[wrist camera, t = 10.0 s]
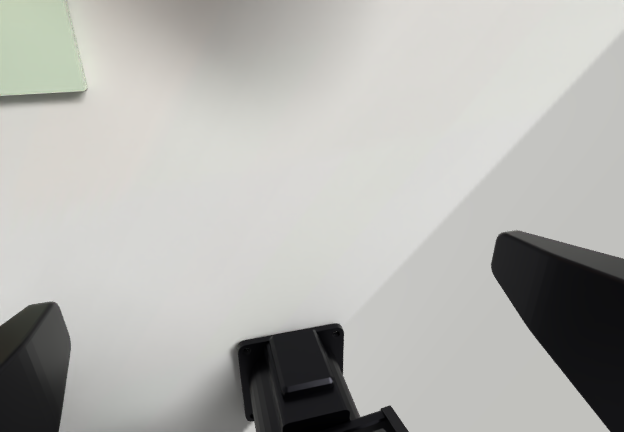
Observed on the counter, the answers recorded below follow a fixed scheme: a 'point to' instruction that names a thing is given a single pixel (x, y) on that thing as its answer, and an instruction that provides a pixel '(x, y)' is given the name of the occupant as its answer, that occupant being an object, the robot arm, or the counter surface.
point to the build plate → (38, 48)
